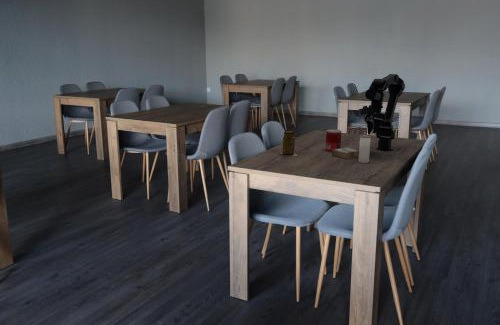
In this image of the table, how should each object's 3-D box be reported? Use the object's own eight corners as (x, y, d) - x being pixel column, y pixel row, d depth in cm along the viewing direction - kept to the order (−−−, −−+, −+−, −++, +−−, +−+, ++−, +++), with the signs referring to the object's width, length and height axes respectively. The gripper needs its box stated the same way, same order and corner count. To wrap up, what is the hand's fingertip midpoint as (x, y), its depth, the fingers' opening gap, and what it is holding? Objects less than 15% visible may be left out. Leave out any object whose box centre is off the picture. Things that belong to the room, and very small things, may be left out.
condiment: (291, 152, 244) (292, 130, 241) (298, 155, 236) (299, 132, 233) (279, 153, 242) (279, 130, 239) (285, 156, 234) (286, 133, 231)
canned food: (340, 152, 245) (341, 132, 242) (325, 151, 247) (326, 131, 244) (340, 149, 252) (341, 129, 250) (325, 148, 254) (326, 129, 251)
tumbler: (364, 159, 229) (366, 134, 226) (371, 162, 224) (373, 136, 221) (355, 160, 227) (357, 135, 223) (362, 163, 222) (364, 136, 219)
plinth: (345, 153, 243) (345, 147, 242) (359, 156, 235) (360, 150, 234) (331, 155, 237) (332, 149, 237) (346, 159, 230) (346, 153, 229)
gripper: (356, 102, 243) (351, 132, 243) (366, 98, 224) (360, 130, 224) (377, 106, 243) (371, 135, 243) (388, 102, 224) (383, 134, 225)
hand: (371, 133), depth 234 cm, fingers open, 9 cm apart
